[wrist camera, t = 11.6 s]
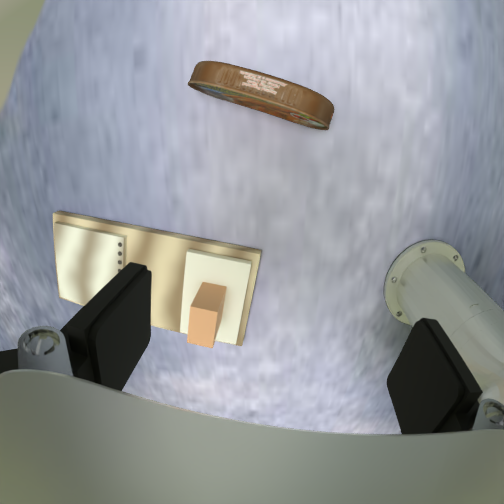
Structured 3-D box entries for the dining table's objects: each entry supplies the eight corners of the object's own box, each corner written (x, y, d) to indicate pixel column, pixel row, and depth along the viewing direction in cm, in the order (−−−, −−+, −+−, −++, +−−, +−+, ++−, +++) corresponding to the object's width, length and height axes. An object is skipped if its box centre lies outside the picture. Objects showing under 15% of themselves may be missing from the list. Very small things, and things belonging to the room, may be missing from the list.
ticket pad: (261, 249, 40) (260, 257, 37) (243, 339, 45) (241, 350, 42) (58, 210, 40) (48, 215, 38) (64, 293, 45) (55, 300, 43)
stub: (251, 261, 38) (245, 288, 32) (236, 340, 43) (229, 374, 36) (188, 248, 39) (170, 272, 32) (181, 328, 43) (166, 359, 36)
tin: (197, 93, 34) (175, 82, 26) (206, 69, 32) (186, 52, 25) (321, 133, 34) (333, 132, 26) (330, 108, 33) (344, 101, 25)
